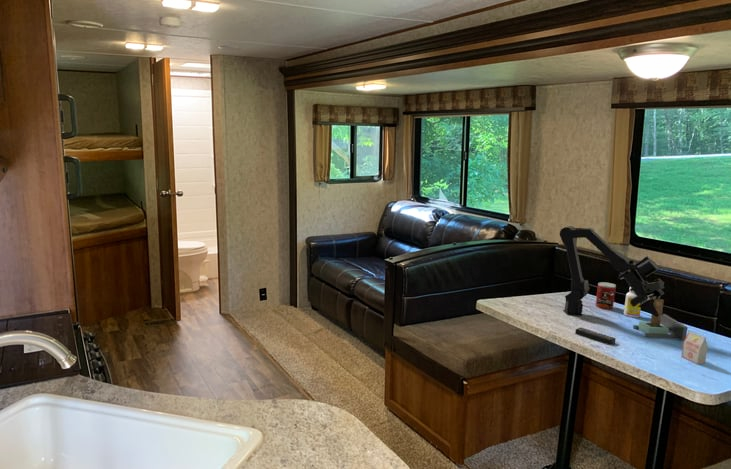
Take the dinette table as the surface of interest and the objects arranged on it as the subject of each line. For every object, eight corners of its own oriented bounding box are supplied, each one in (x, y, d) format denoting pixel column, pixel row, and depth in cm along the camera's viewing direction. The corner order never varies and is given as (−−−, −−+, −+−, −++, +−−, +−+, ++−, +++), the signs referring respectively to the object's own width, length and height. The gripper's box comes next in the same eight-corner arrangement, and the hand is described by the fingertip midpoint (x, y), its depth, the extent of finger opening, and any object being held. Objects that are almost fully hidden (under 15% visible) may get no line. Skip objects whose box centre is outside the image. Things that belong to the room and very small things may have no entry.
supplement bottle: (642, 318, 246) (646, 290, 244) (627, 317, 246) (631, 289, 244) (635, 313, 253) (639, 286, 250) (620, 313, 253) (624, 285, 250)
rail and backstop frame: (649, 340, 219) (652, 325, 217) (629, 326, 234) (631, 312, 233) (685, 341, 219) (687, 327, 218) (662, 327, 235) (664, 314, 234)
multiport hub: (609, 346, 211) (610, 340, 210) (574, 334, 222) (575, 329, 221) (615, 343, 214) (616, 338, 213) (580, 332, 224) (580, 327, 224)
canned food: (594, 307, 259) (597, 284, 257) (596, 303, 266) (599, 281, 264) (612, 310, 256) (615, 287, 254) (613, 306, 263) (616, 283, 261)
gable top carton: (689, 356, 204) (693, 330, 202) (705, 363, 197) (709, 337, 196) (681, 356, 203) (685, 330, 201) (696, 364, 196) (701, 337, 195)
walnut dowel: (652, 331, 225) (657, 300, 222) (647, 328, 228) (652, 298, 226) (660, 331, 225) (665, 301, 222) (656, 328, 228) (660, 298, 226)
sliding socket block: (648, 336, 222) (649, 327, 222) (638, 329, 230) (639, 321, 230) (667, 337, 223) (669, 328, 222) (656, 330, 231) (658, 322, 230)
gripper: (642, 275, 219) (667, 309, 213) (662, 270, 231) (686, 302, 225) (619, 289, 227) (643, 323, 220) (640, 283, 238) (663, 315, 232)
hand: (660, 315), depth 224 cm, fingers closed on walnut dowel, 3 cm apart
